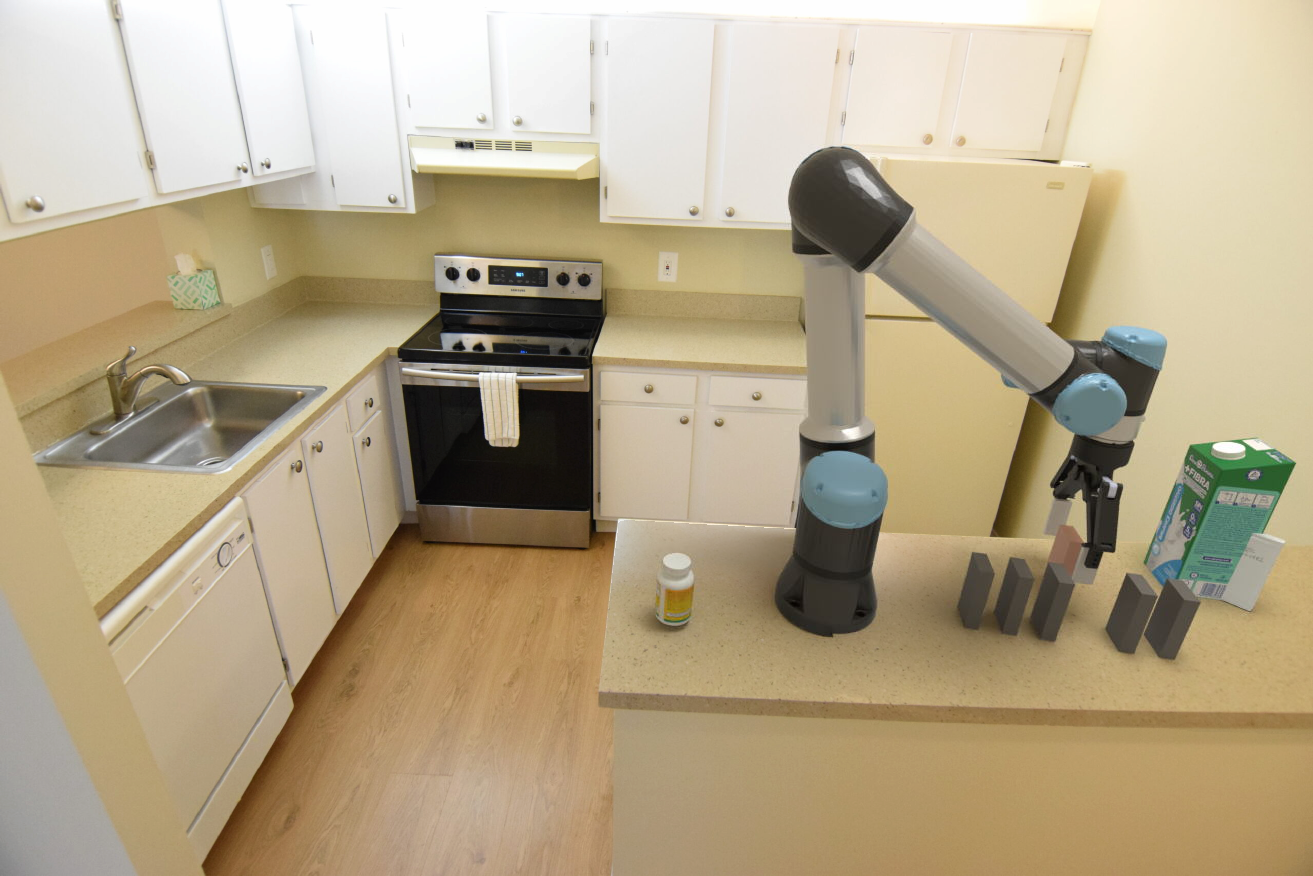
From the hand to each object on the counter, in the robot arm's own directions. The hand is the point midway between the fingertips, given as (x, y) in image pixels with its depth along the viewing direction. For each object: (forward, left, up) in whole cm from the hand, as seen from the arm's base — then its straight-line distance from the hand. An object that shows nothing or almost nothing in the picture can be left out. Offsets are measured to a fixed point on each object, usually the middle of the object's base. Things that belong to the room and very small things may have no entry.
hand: (1066, 557), depth 109 cm
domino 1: (-16, -12, -6) cm, 21 cm away
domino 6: (+10, -12, -6) cm, 17 cm away
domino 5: (+5, -12, -6) cm, 14 cm away
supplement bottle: (-59, -22, -6) cm, 63 cm away
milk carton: (+22, +7, -6) cm, 23 cm away
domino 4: (-6, -12, -6) cm, 14 cm away
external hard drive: (+25, +3, -5) cm, 26 cm away
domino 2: (-11, -12, -6) cm, 17 cm away
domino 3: (0, 0, -6) cm, 6 cm away
